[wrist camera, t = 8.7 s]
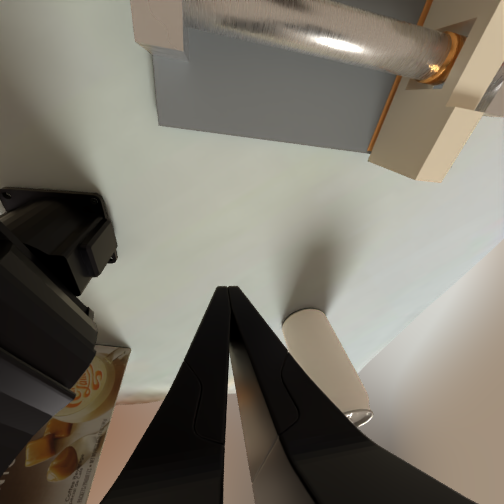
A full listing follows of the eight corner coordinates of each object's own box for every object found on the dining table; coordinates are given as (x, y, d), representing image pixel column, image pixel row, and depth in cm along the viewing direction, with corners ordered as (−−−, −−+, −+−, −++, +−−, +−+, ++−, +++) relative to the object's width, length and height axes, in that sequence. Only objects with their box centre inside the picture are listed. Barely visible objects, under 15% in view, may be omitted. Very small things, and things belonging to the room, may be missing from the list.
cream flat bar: (367, 161, 18) (415, 180, 13) (471, -93, 11) (626, -205, 7) (388, 163, 18) (440, 182, 14) (500, -79, 11) (662, -177, 7)
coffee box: (45, 366, 28) (-98, 603, 15) (46, 337, 25) (-130, 597, 12) (124, 372, 31) (65, 567, 18) (134, 347, 28) (71, 557, 15)
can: (320, 300, 29) (377, 402, 19) (328, 326, 33) (378, 422, 23) (275, 317, 29) (308, 425, 20) (287, 341, 33) (320, 440, 24)
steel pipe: (152, 54, 12) (134, 40, 9) (142, -60, 10) (114, -125, 7) (456, 114, 17) (509, 118, 14) (495, 44, 15) (568, 31, 12)
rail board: (161, 124, 15) (158, 125, 14) (136, -182, 9) (128, -212, 8) (421, 159, 20) (430, 161, 19) (521, -28, 14) (541, -37, 13)
